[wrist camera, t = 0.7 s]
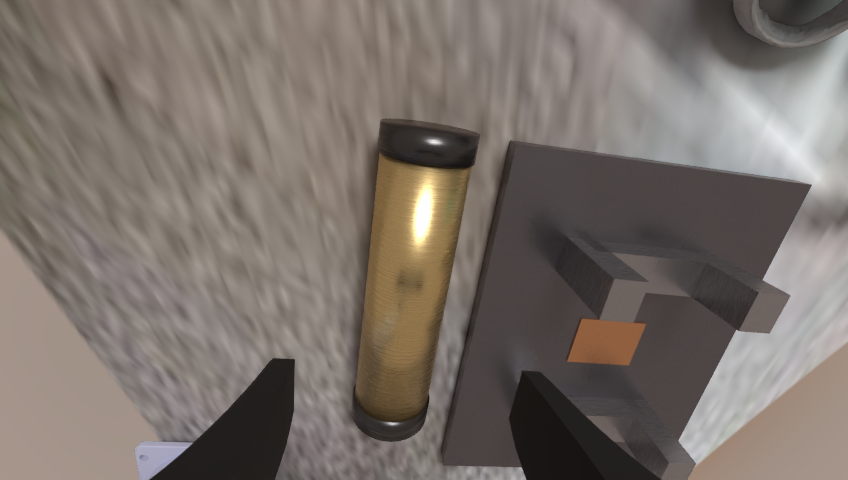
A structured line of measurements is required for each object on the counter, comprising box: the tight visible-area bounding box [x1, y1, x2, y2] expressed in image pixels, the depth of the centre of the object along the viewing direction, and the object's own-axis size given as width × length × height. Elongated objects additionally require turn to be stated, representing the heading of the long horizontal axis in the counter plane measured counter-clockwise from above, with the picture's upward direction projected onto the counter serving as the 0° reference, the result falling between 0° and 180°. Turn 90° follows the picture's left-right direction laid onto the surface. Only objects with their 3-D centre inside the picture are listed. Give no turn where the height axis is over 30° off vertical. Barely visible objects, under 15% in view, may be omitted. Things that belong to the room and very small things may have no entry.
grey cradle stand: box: [441, 141, 812, 480], centre depth 21 cm, size 21×16×6 cm
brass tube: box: [352, 119, 480, 442], centre depth 19 cm, size 16×4×4 cm, turn 172°
